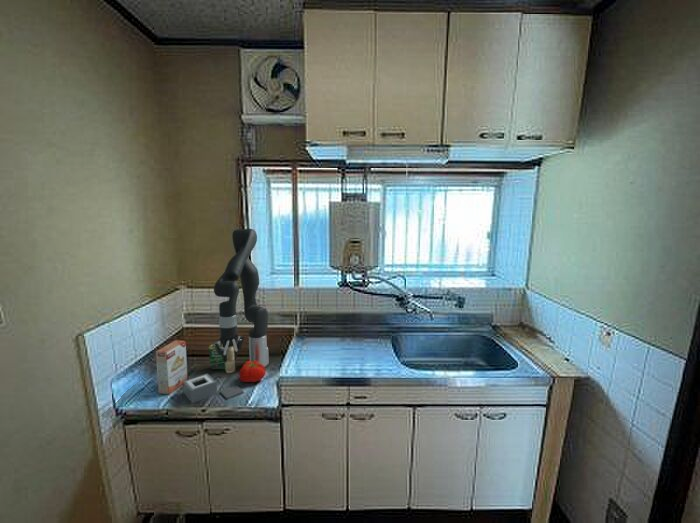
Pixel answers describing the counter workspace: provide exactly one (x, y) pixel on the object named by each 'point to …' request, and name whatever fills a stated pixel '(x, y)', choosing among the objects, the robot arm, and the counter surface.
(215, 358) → the coffee box
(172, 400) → the counter surface
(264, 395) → the counter surface
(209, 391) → the box
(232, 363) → the beige ridged cylinder
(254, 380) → the tomato
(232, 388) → the mat
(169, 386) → the cracker box
